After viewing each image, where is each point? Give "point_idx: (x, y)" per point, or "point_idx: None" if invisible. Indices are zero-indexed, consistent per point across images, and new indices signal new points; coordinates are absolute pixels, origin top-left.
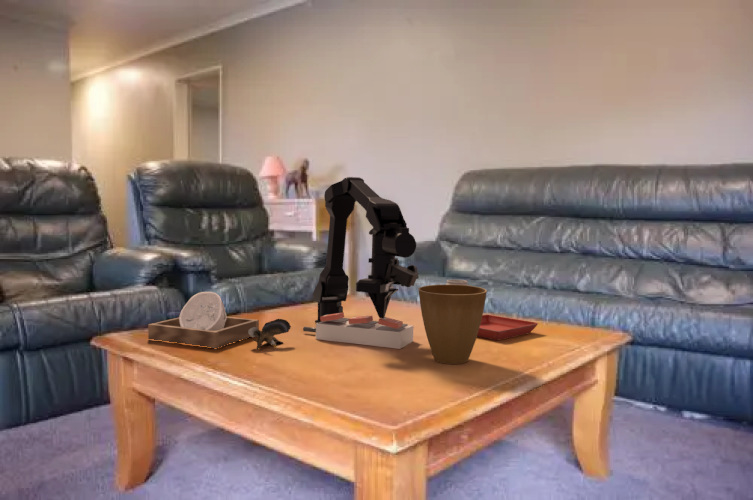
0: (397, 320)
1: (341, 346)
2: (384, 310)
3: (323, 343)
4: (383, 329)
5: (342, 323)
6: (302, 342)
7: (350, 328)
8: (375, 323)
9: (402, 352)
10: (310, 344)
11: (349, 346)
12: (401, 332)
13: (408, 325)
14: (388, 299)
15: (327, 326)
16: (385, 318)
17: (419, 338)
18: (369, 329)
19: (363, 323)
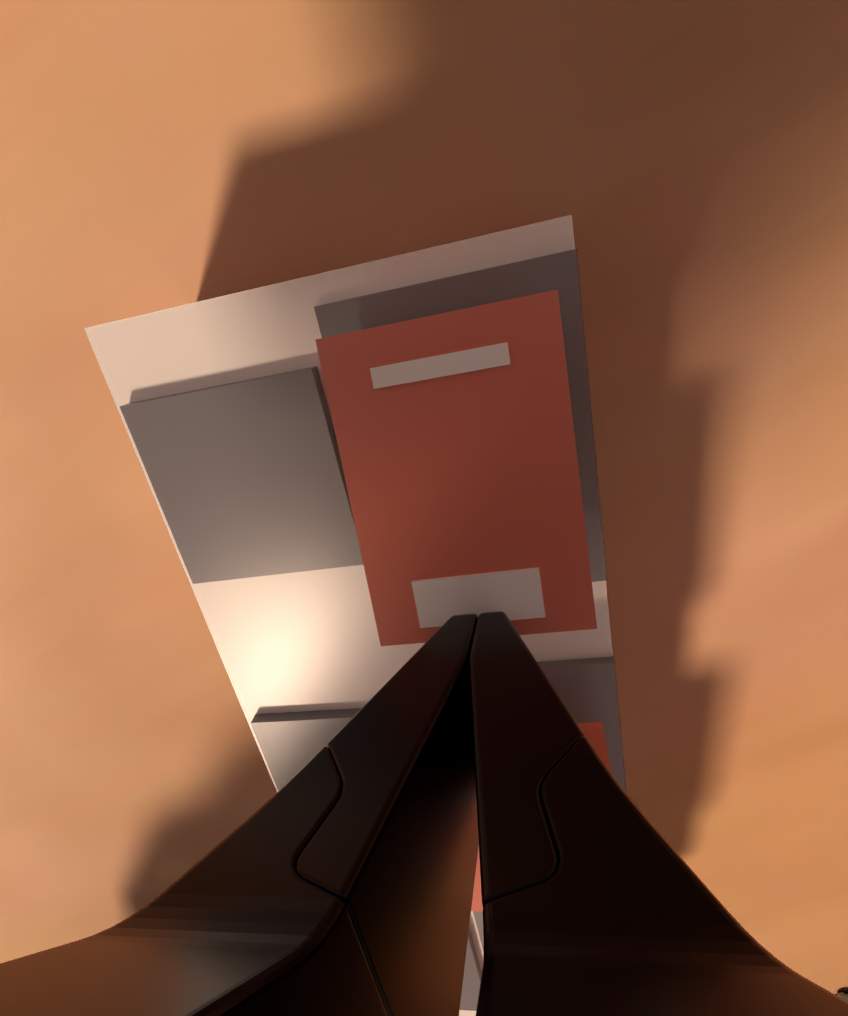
0: (356, 424)
1: (746, 698)
2: (511, 669)
3: (717, 825)
4: (587, 487)
5: None
6: (760, 922)
7: None
8: (323, 711)
9: (696, 100)
10: (793, 871)
11: (714, 653)
12: (534, 223)
13: (128, 386)
14: (343, 844)
15: None
16: (470, 582)
17: (58, 329)
18: (610, 638)
19: None
